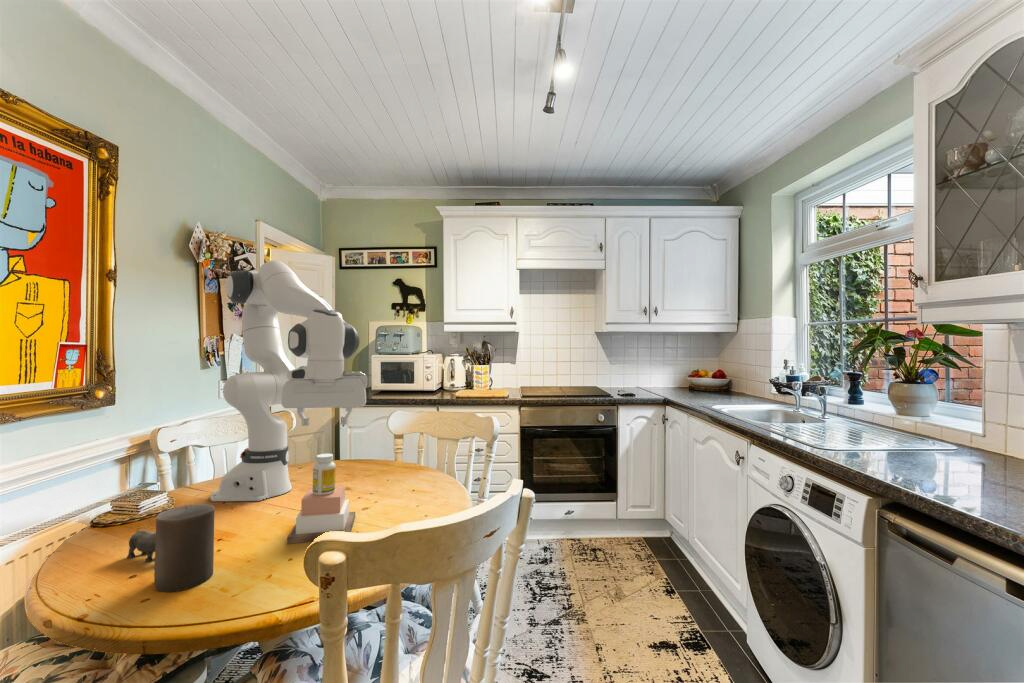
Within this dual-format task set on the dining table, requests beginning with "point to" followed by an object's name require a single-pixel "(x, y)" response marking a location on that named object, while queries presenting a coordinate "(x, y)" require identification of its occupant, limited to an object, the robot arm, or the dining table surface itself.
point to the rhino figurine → (143, 544)
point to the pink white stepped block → (323, 512)
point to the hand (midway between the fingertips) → (325, 424)
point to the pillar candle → (184, 547)
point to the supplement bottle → (324, 475)
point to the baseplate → (311, 536)
